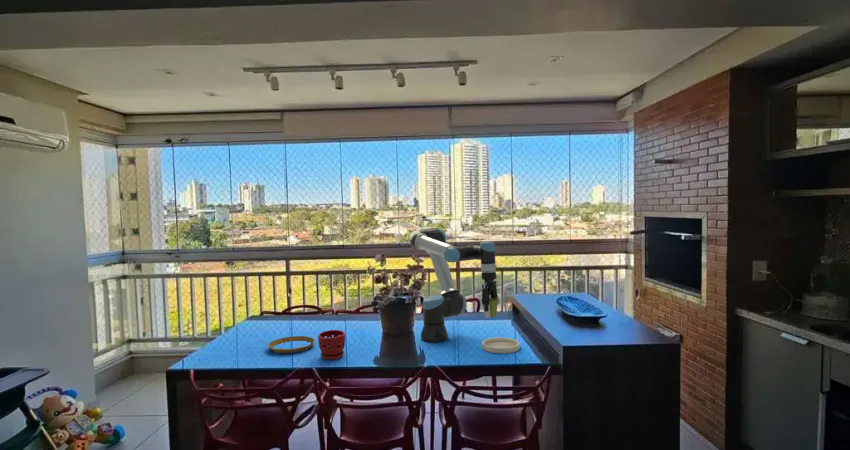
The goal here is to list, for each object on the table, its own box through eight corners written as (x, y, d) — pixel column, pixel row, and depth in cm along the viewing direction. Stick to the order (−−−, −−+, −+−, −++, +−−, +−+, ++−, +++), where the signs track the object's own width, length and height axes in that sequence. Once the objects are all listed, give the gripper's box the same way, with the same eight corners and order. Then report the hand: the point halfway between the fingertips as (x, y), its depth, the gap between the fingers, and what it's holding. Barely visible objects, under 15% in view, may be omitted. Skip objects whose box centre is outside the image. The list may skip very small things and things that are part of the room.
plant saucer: (324, 345, 242) (324, 339, 242) (290, 358, 221) (290, 351, 221) (293, 339, 254) (292, 334, 254) (258, 351, 234) (258, 345, 233)
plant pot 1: (314, 357, 220) (313, 333, 220) (336, 351, 229) (335, 328, 229) (328, 363, 211) (327, 338, 210) (351, 356, 220) (350, 332, 220)
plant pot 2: (499, 318, 222) (498, 300, 222) (480, 318, 224) (479, 301, 224) (500, 314, 231) (499, 297, 231) (482, 314, 233) (481, 297, 233)
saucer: (476, 350, 223) (476, 345, 223) (489, 340, 239) (489, 335, 239) (513, 355, 213) (512, 350, 213) (524, 344, 230) (524, 339, 230)
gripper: (487, 274, 217) (489, 320, 217) (502, 269, 235) (505, 312, 235) (473, 274, 220) (475, 319, 220) (489, 269, 239) (491, 311, 239)
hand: (490, 315), depth 228 cm, fingers closed on plant pot 2, 8 cm apart
